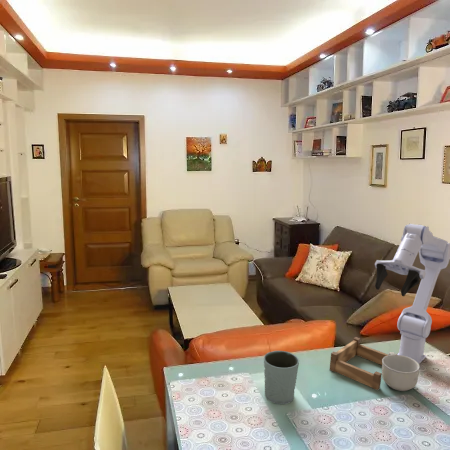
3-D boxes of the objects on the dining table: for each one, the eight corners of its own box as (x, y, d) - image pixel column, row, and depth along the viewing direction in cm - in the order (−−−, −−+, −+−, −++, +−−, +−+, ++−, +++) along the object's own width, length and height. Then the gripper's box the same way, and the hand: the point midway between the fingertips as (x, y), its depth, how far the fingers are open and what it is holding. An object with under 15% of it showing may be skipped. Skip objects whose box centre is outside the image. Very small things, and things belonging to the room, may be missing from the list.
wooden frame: (354, 352, 155) (355, 336, 154) (399, 369, 145) (401, 353, 143) (329, 369, 143) (331, 353, 141) (377, 390, 132) (379, 372, 131)
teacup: (420, 397, 129) (423, 373, 127) (382, 392, 131) (385, 368, 129) (410, 374, 142) (413, 351, 141) (375, 369, 144) (378, 347, 143)
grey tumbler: (298, 390, 130) (301, 354, 127) (292, 409, 120) (295, 370, 118) (266, 383, 133) (268, 347, 131) (257, 401, 124) (260, 363, 121)
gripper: (380, 243, 134) (363, 277, 128) (428, 252, 125) (412, 289, 119) (384, 256, 139) (368, 290, 133) (431, 266, 129) (416, 303, 123)
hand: (389, 290), depth 126 cm, fingers open, 7 cm apart
